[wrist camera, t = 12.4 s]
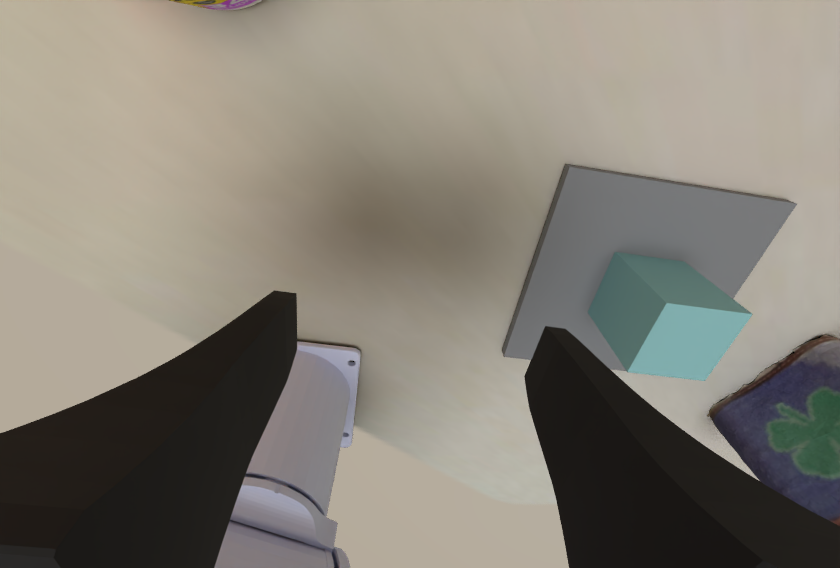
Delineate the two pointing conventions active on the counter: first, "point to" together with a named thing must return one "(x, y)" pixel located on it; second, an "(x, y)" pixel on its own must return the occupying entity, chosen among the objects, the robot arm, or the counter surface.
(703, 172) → the counter surface
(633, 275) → the teal block
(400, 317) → the counter surface
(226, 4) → the supplement bottle
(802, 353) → the flask
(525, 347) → the mat
